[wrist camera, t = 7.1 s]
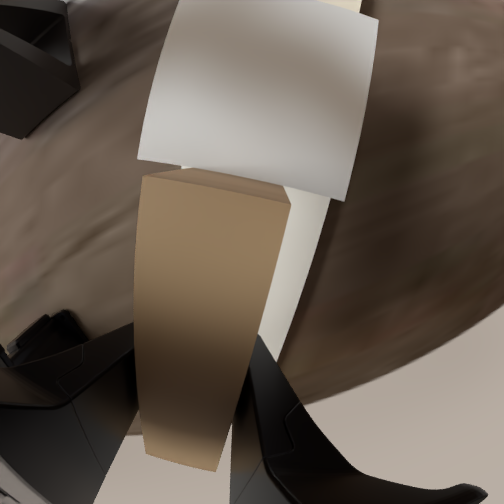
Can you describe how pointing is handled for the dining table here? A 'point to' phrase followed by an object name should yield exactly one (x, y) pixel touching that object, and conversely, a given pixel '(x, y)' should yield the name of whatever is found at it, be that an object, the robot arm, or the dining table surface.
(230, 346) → the turner
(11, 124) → the phone stand
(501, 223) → the dining table surface
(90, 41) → the dining table surface
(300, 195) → the tool rest
